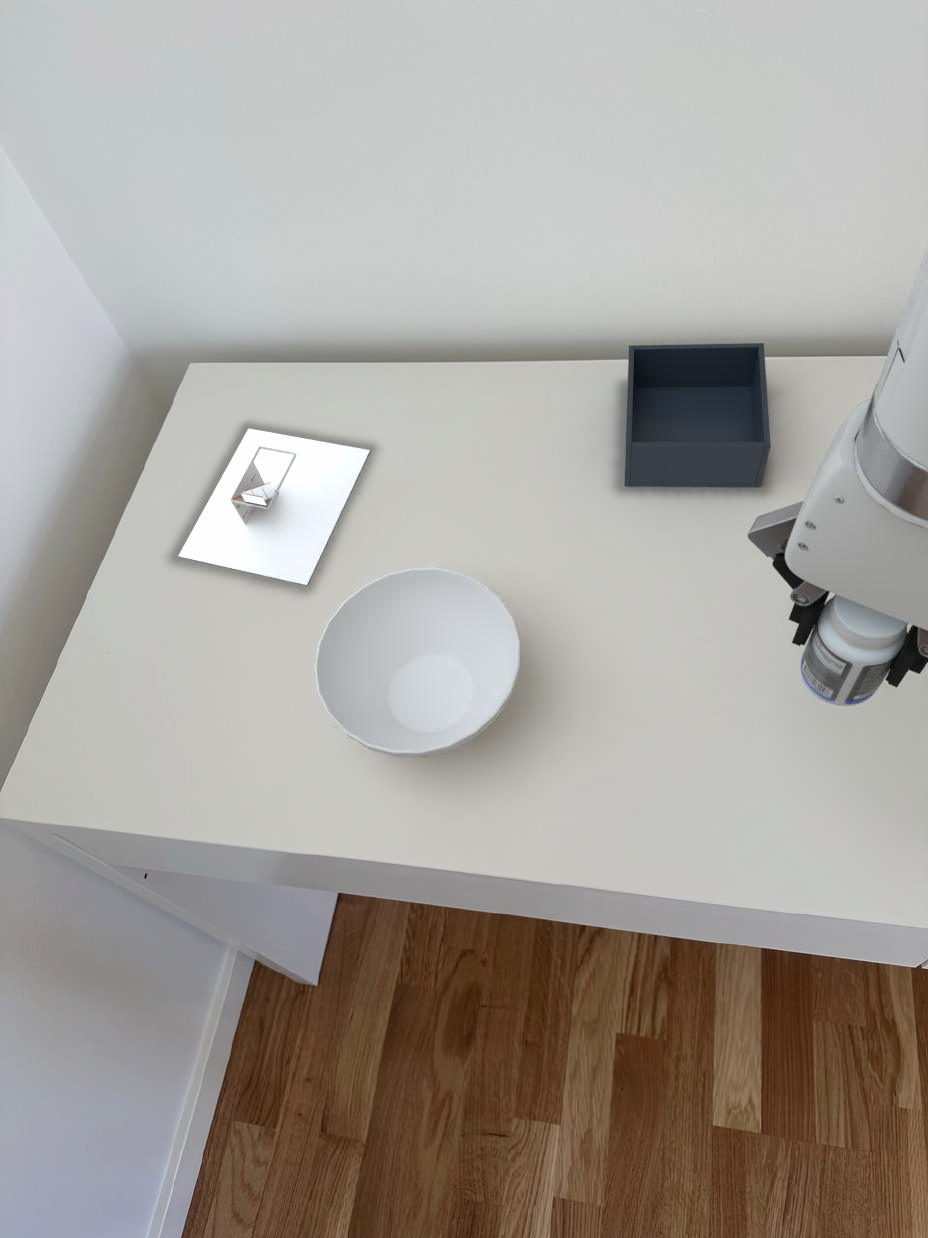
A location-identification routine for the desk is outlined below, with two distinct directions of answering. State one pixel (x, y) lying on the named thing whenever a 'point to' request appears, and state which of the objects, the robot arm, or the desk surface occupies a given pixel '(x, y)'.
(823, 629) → the pill bottle
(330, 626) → the bowl
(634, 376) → the bin
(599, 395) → the desk surface
